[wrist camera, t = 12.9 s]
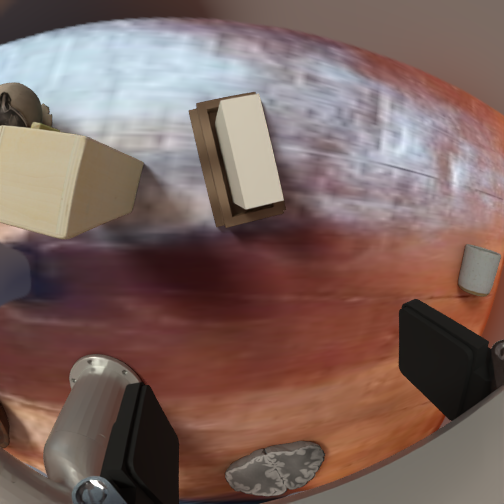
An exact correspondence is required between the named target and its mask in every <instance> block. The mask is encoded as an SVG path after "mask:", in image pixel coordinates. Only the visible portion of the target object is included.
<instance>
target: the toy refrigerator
mask: <svg viewBox="0 0 504 504" xmlns="http://www.w3.org/2000/svg"><path fill="white" fill-rule="evenodd" d="M143 164H144V163H143V162H142V161H140V160H138V159H136V158H133V157H131V156H129V155H127V154H124V153H122V152H120V151H118V150H116V149H113V148H111V147H109V146H107V145H105V144H102V143H100V142H98V141H96V140H94V139H91V138H89V137H85V136H81V135H76V134H69V133H63V132H60V130H57V129H54V128H52V127H49V126H47V125H44V124H41V123H36V122H33V123H32V126H31V128H25V127H16V126H4V125H1V126H0V223H3V224H7V225H10V226H14V227H18V228H22V229H25V230H29V231H33V232H36V233H40V234H44V235H48V236H51V237H55V238H59V239H70V238H73V237H75V236H77V235H79V234H81V233H84V232H86V231H88V230H90V229H93V228H95V227H97V226H99V225H102V224H104V223H106V222H109V221H111V220H114V219H116V218H119V217H121V216H124V215H126V214H129V213H131V212H132V210H133V205H134V201H135V197H136V192H137V188H138V184H139V180H140V176H141V172H142V168H143Z"/></svg>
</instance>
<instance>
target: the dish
mask: <svg viewBox="0 0 504 504" xmlns="http://www.w3.org/2000/svg"><path fill="white" fill-rule="evenodd" d="M8 445H9V422H8V418H7V416H6V413H5V411H4V410H3V408H2V406H1V405H0V447H1V448H6V447H7V446H8Z"/></svg>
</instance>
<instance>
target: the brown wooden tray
mask: <svg viewBox="0 0 504 504" xmlns="http://www.w3.org/2000/svg"><path fill="white" fill-rule="evenodd" d="M254 94H256V92H251V93H245V94H240V95H234V96H229V97H224V98H219V99H214V100H209V101H205V102H200V103H196V106H197V109H193V110H189V115H190V119H191V124H192V128H193V133H194V137H195V141H196V146H197V150H198V154H199V158H200V163H201V167H202V171H203V175H204V179H205V183H206V188H207V192H208V196H209V200H210V204H211V208H212V212H213V216H214V220H215V224H216V227H219V226H223V225H225V227H226V228H228V227H231V226H235V225H239V224H243V223H247V222H251V221H255V220H259V219H263V218H267V217H271V216H275V215H279V214H283V213H284V212H283V210H286V207H285V202H284V200H283V201H279V202H275V203H270V204H266V205H262V206H258V207H254V208H250V209H244V208H242V207H240V206H238V205H237V204H235V203H233V201H232V196H231V192H230V188H229V184H228V179H227V175H226V171H225V167H224V162H223V158H222V154H221V150H220V145H219V141H218V137H217V133H216V128H215V121H216V116H217V112H218V108H219V104H220V101H221V100H226V99H231V98H237V97H242V96H248V95H254ZM268 133H269V132H268ZM269 137H270V136H269ZM270 141H271V140H270ZM273 154H274V153H273ZM274 158H275V157H274ZM275 163H276V162H275ZM276 167H277V166H276ZM278 176H279V175H278ZM279 180H280V179H279ZM280 185H281V184H280ZM281 189H282V188H281ZM282 194H283V193H282ZM283 199H284V198H283Z"/></svg>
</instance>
